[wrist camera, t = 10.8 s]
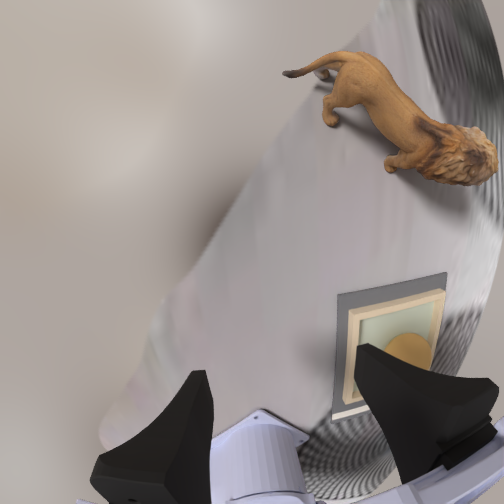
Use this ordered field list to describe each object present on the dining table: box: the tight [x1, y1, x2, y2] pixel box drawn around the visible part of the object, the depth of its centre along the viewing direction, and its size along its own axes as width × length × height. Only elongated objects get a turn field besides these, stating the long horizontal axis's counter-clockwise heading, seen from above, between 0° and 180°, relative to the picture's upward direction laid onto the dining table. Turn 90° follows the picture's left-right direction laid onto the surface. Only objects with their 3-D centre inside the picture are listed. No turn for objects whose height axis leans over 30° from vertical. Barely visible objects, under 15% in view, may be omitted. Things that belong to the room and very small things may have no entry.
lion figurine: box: [282, 51, 498, 186], centre depth 14 cm, size 15×5×9 cm, turn 65°
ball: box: [384, 333, 432, 370], centre depth 21 cm, size 5×5×5 cm
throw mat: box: [331, 272, 447, 424], centre depth 23 cm, size 16×12×1 cm
